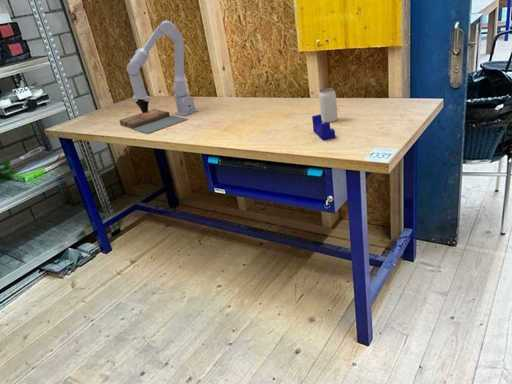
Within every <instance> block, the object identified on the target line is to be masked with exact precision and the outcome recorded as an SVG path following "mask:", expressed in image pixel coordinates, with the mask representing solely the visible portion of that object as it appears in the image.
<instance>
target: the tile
mask: <svg viewBox="0 0 512 384" xmlns="http://www.w3.org/2000/svg"><path fill="white" fill-rule="evenodd" d="M150 110H151V111H150ZM150 110H148V112H145V113H142V112H141V113H142V114H141V117H142V118H145V119H150V118H153V117H156V116H159V115H158V112H156V111H152V110H153V109H150Z"/></svg>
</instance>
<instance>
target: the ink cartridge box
mask: <svg viewBox="0 0 512 384" xmlns="http://www.w3.org/2000/svg"><path fill="white" fill-rule="evenodd" d="M174 83H175V81H174V82H173V85H174ZM184 83H185V85H186V89H187V91H186V92H188V94H189V96H190V97H191V94H190V90H189V85H188V81H187V78H186V74H185V73H184Z"/></svg>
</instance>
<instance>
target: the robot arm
mask: <svg viewBox="0 0 512 384" xmlns="http://www.w3.org/2000/svg"><path fill="white" fill-rule="evenodd" d="M164 36H165V37H168V38H169V39H170V40H171V41H172V42H173V46H174V47H173V49H174V50H173V51H174V55H173V56H174V82H175V83H174V82H173V83H174V84H173V86H172V87H173V93H174V101H175V105H176V108H177V109H176V110H177V112H175V113H174V114H175V115H180V116H188V115H190V114H194V113H195V112H198V110H197V109H196V107H195V102H194V99H193V97H191V95H190V96H189V94H188V92H186V91H187V89H186V85H185V83H184V74H185V57H184V56H185V51H184V50H185V49H184V48H185V47H184V43H185V42H184V41H185V40H184V37H183V34H182V33H181V32H180V30H179V29H178V28H177V26H176V25H175V24H174V23H173V22H172V21H170V20H163V21H161V23H160V25H158V26H157V28H155V29H154V30H153V32H152V34H151V35H150V37H149V38H148V40H147V41H146V42H145V44H144V46H143V47H140V48H138V49H136V50H135V54H134V55H133V56H132V58H130V60H129V63H128V64H127V65H126V72H127V73H128V77H129V80H130V85H131V87H132V92H133V96H132V99H133V101H134V100H136V101H135V104H136V105H137V106H138V108H139V110H140V111H141V113H145V112H148V111H149V102H150V101H151V99H150V96H149V95H148V94H147V91H146V88H145V84H144V80H143V77H142V75H141V71H140V70H141V68H142V67H143V66H144V64H145V63H146V62H147V61H148V59H149V58H150V54H149V53H150V51H151V49H152V48H153V47H154V45H155V44H156V43H157V41H158V40H159V39H161V38H164Z"/></svg>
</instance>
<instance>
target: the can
mask: <svg viewBox="0 0 512 384" xmlns="http://www.w3.org/2000/svg"><path fill="white" fill-rule="evenodd" d="M336 94H337V92H336V91H335V88H333V87H330V88H329V87H327V88H322V89H320V90H319V93H318V102H319V111H320V112H319V113H320V114H319V115H321V119H322V123H325V122H329V123H330V124H331V123H333V122H336V121H338V106H337V104H338V103H337V95H336Z"/></svg>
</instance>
